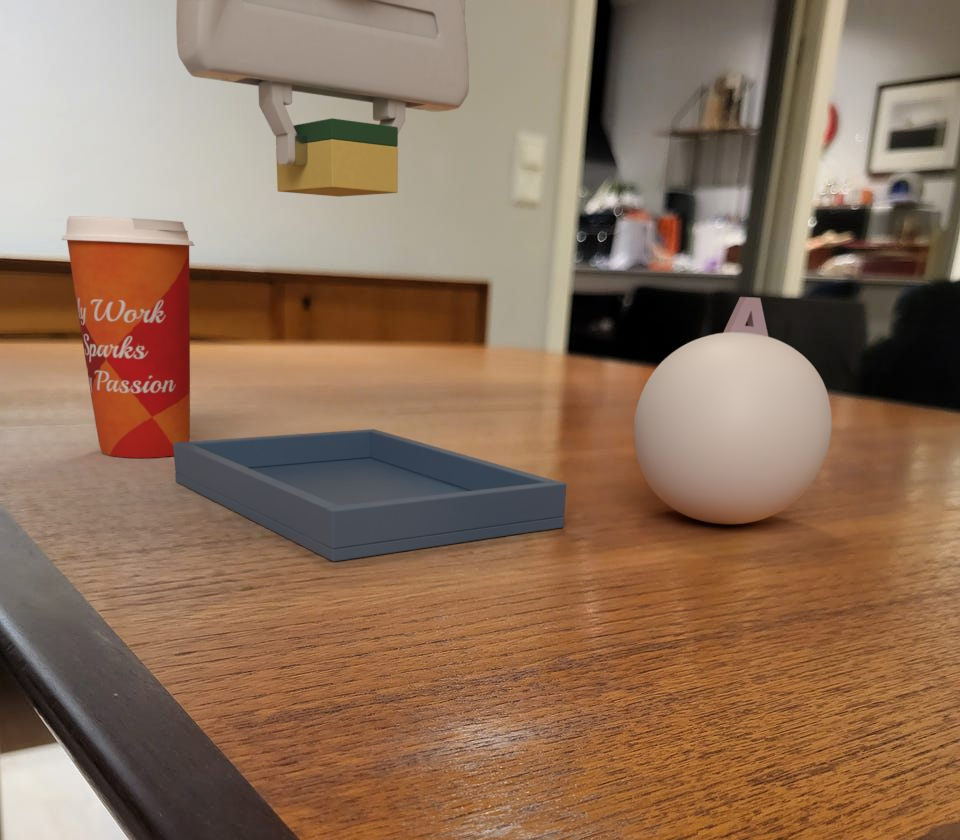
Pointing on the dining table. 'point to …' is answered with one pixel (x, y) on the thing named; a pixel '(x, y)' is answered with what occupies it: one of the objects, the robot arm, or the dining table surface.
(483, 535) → the tray
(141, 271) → the coffee cup
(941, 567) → the dining table surface
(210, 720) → the dining table surface
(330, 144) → the sponge
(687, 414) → the ornament
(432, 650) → the dining table surface
